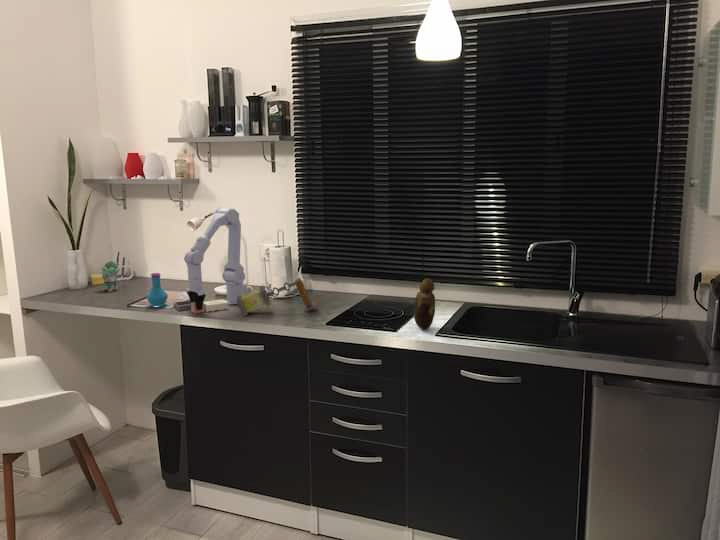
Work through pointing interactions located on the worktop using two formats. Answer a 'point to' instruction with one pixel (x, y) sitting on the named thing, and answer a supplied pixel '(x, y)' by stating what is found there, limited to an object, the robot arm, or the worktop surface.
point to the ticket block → (215, 305)
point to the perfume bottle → (156, 292)
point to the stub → (194, 310)
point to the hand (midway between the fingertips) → (196, 308)
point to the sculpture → (425, 304)
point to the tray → (182, 305)
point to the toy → (110, 276)
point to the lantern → (261, 299)
